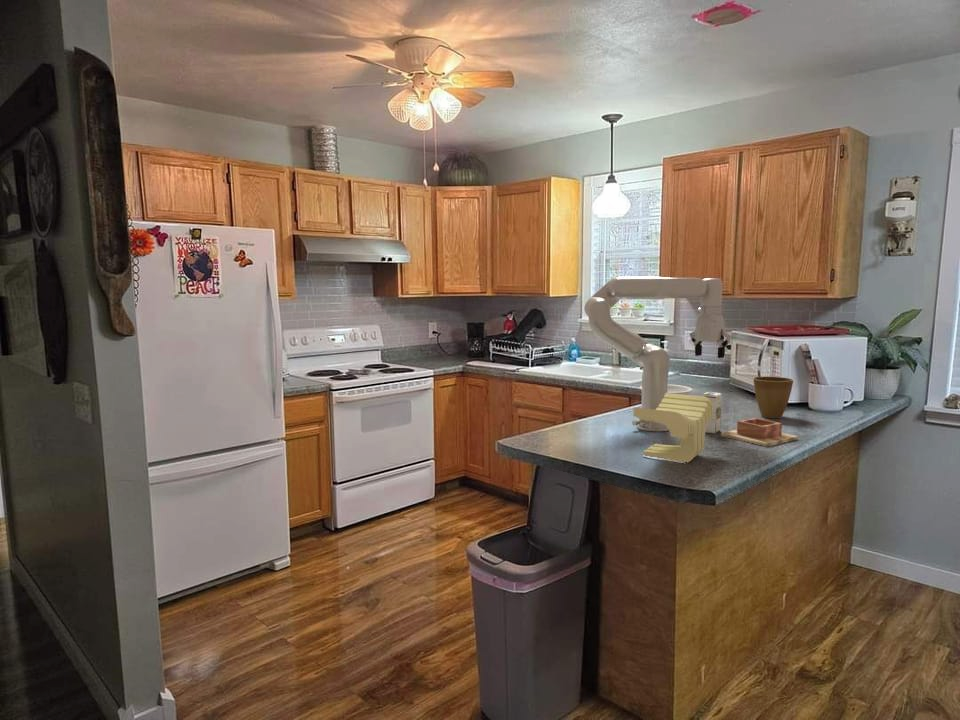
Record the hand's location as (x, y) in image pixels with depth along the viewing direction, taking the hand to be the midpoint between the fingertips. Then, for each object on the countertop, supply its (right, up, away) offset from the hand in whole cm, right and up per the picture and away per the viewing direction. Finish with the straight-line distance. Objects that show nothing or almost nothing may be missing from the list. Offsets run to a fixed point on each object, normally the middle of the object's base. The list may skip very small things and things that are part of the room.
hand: (709, 356), depth 229 cm
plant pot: (+34, -25, +22) cm, 48 cm away
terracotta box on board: (+13, -29, -12) cm, 34 cm away
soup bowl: (0, -21, +57) cm, 60 cm away
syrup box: (0, -28, -2) cm, 28 cm away
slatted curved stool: (-25, -33, -35) cm, 54 cm away
